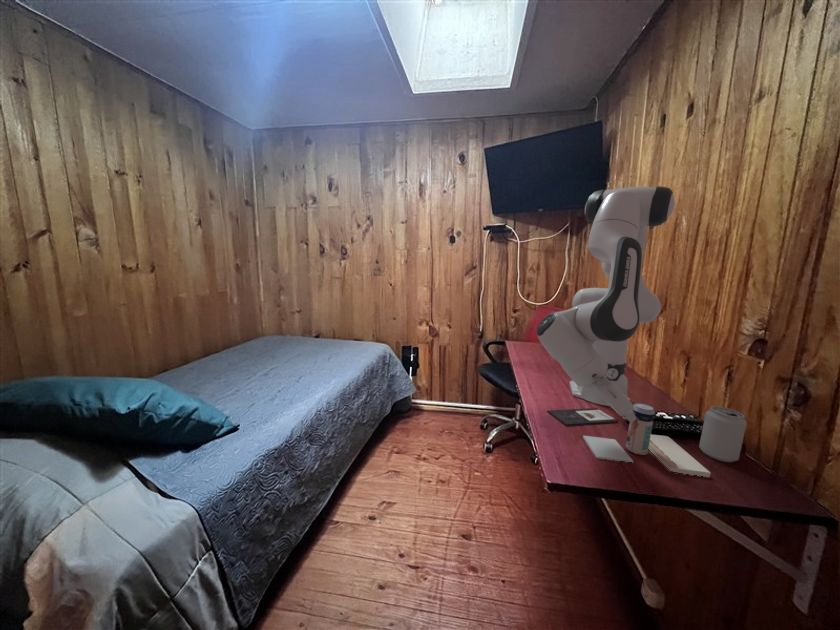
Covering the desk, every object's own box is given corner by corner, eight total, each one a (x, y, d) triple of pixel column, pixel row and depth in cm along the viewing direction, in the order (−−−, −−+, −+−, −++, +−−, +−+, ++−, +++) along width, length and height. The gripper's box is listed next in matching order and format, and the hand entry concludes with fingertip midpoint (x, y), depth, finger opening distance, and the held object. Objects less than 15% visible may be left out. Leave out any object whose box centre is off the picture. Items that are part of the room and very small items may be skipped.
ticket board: (635, 436, 90) (636, 432, 90) (667, 440, 89) (668, 435, 89) (670, 472, 74) (671, 467, 74) (709, 477, 73) (710, 472, 73)
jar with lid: (626, 443, 86) (633, 400, 84) (648, 451, 83) (656, 406, 81) (623, 451, 82) (631, 406, 80) (646, 459, 79) (654, 412, 77)
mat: (582, 437, 88) (583, 435, 88) (614, 441, 87) (614, 439, 87) (597, 458, 78) (597, 456, 78) (633, 463, 77) (633, 461, 77)
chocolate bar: (547, 410, 103) (596, 408, 107) (547, 413, 103) (595, 410, 107) (566, 424, 94) (618, 421, 98) (565, 427, 94) (618, 424, 98)
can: (732, 467, 78) (742, 420, 76) (693, 451, 84) (702, 407, 82) (742, 459, 82) (752, 413, 80) (704, 444, 88) (713, 402, 86)
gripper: (616, 374, 71) (658, 422, 71) (584, 351, 91) (616, 388, 91) (591, 392, 72) (632, 439, 72) (565, 365, 92) (597, 402, 92)
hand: (623, 410), depth 82 cm, fingers open, 8 cm apart
